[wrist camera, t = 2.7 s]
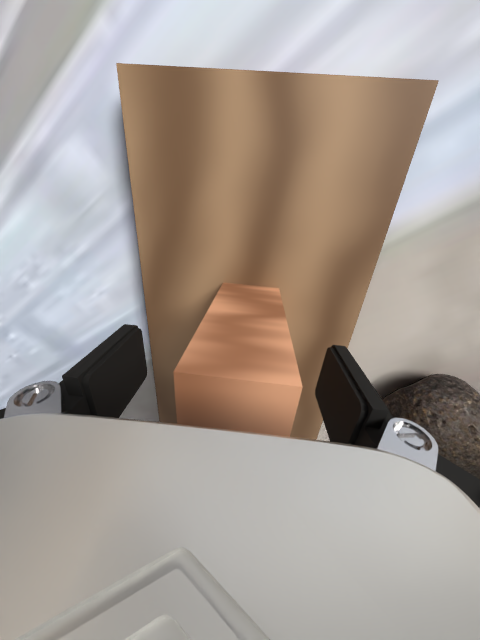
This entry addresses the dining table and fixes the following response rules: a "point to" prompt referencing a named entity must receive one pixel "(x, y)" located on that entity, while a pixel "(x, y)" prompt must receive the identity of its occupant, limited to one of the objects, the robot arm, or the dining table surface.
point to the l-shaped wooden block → (240, 365)
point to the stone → (443, 416)
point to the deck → (263, 199)
